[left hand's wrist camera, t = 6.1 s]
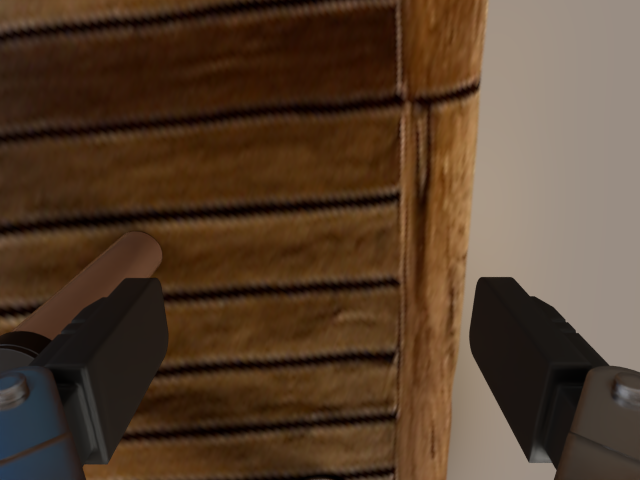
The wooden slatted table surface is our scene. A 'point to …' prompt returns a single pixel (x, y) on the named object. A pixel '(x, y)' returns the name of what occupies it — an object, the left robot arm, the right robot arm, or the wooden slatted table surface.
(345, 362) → the wooden slatted table surface
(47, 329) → the brown rounded cylinder
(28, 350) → the lid
